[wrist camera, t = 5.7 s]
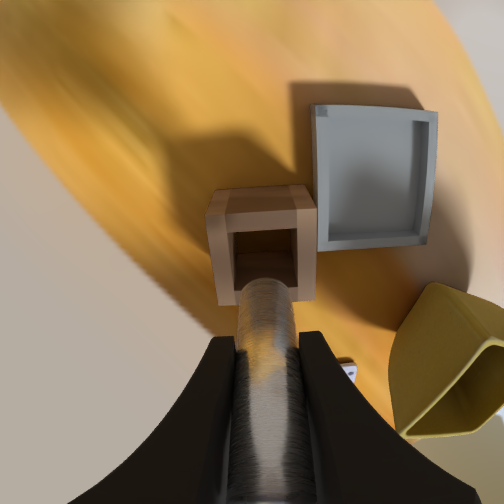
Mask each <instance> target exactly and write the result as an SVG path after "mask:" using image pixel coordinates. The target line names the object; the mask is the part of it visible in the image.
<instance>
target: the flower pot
mask: <svg viewBox="0 0 504 504" xmlns="http://www.w3.org/2000/svg"><path fill="white" fill-rule="evenodd" d="M388 380H389V389H390V395H391V402H392V409H393V416H394V423H395V430H396V432H397V433H398V434H399V435H400V436H401V437H402V438H404V439H419V438H435V437H446V436H456V435H465V434H470V433H474V432H476V431H477V430H478V429H480V428H481V427H482V426H483V425H484V424H485V423H486V422H487V421H489V420H490V419H491V418H492V417H493V416H494V415H495V414H496V413H497V412H498V411H499V410H500V409H501V408H502V407H503V406H504V309H503V308H501V307H500V306H498V305H496V304H494V303H492V302H490V301H487V300H485V299H482V298H479V297H476V296H474V295H471V294H468V293H465V292H462V291H460V290H457V289H454V288H451V287H449V286H446V285H444V284H440V283H435V282H431V283H429V284H428V285H427V286H426V287H425V289H424V290H423V292H422V293H421V295H420V297H419V298H418V300H417V301H416V303H415V305H414V306H413V308H412V309H411V311H410V312H409V314H408V315H407V317H406V318H405V320H404V321H403V323H402V324H401V325H400V327H399V328H398V330H397V333H396V336H395V339H394V342H393V345H392V348H391V353H390V358H389V367H388Z"/></svg>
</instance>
